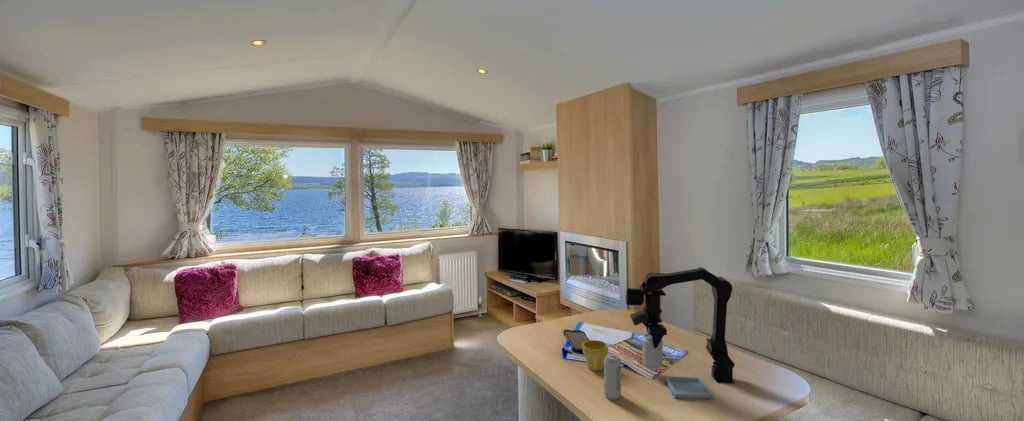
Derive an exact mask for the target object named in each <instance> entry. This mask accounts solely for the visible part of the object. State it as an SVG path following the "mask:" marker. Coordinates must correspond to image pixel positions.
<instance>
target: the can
mask: <svg viewBox="0 0 1024 421" xmlns="http://www.w3.org/2000/svg"><path fill="white" fill-rule="evenodd" d="M663 344H664V343H663V338H662V339H661V341H660V343H659V345H658V347H657V348H654V347H653V341H652V336H651V335H650V334H648V333H646V334H644V337H643V338H642V363H643V365H644V366H645V367H647V368H650V369H659V368H660V367H662V366H663V356H664V355H663V354H664V353H663Z"/></svg>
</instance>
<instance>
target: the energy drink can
mask: <svg viewBox="0 0 1024 421" xmlns="http://www.w3.org/2000/svg"><path fill="white" fill-rule="evenodd" d="M603 393H604V395H605V398H607V399H608V400H611V401H617V400H619V399H620V397H621V396H622V361H621V358H620V355H618V354H616V353H608V354H607V355H606V358H605V359H604V368H603Z"/></svg>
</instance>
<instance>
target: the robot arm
mask: <svg viewBox="0 0 1024 421" xmlns="http://www.w3.org/2000/svg"><path fill="white" fill-rule="evenodd" d="M701 280H703V281H704V282H706V284H708V285H710V286H711V292H712V297H713V300H714V302H713V303H714V304H713V316H712V318H713V319H712V320H713V322H712V334H711V337H710V338H706V346H705V348H706V351H707V352H708V354H709V355H710V357H711V358H712V360H713V361H712V365H711V374H710V375H711V377H712V378H713V379H714V381H715V382H717V383H722V384H723V383H724V384H725V383H730V384H731V383H732V384H733V383H734V384H735V380H734V379H733V378H734V376H733V375H734V374H733V373H734V370H733V369H734V367H735V362H734V361H733V359H732V358H731V357H730V356H729V351H728V346H727V342H726V326H727V325H726V324H727V309H728V303H729V301H730V299H731V296H732V293H733V285H732V284H731V282H730V281H728V280H727V279H726V278H724V277H722V276H716V275H715V274H713V273H711V272H709V271H708V270H707V269H706V268H705V267H702V266H699V267H697V268H692V269H691V268H690V269H685V270H681V271H675V272H669V273H664V272H663V273H662V272H649V273H647V274H646V275H645V276H644V280H643V282H642V283H641V284H640V285H639V288H635V287H634V288H632V287H626V289H625V290H626V292H625V305H626V306H635V307H636V306H638V307H639V306H640V307H641V306H642V305H644V306H643V310H639V311H636V312H634V313H631V314H630V319H631V321H632V323H633V326H638V325H641V324H642V325H644V326H645V329H646V334H650V335H651V336H652V341H653V347H654V348H657V347H658V345H659V343H660V341H661V339H662V340H663V337H665V336H668V330H667V328H666V326H664V324H663V320H662V318H661V314H662V312H663V310H662V309H661V302H662V301H661V300H662V299H661V296H663V297H664V296H667V294H666V292H665V291H664V290H663V289H665V288H667V287H669V286H671V285H676V284H683V283H688V282H694V281H701ZM644 303H645V304H644Z"/></svg>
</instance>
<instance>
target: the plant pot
mask: <svg viewBox="0 0 1024 421" xmlns="http://www.w3.org/2000/svg"><path fill="white" fill-rule="evenodd" d="M582 352H583V355H584V359H585V362H586V366H587V368H588V369H589V370H591V371H599V372H600V371H602V370H604V359H605V358H606V355H607V354H609V346H608V343H607V342H605V341H603V340H602V341H601V340H597V339H591V340H585V341H584V342H582Z"/></svg>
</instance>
